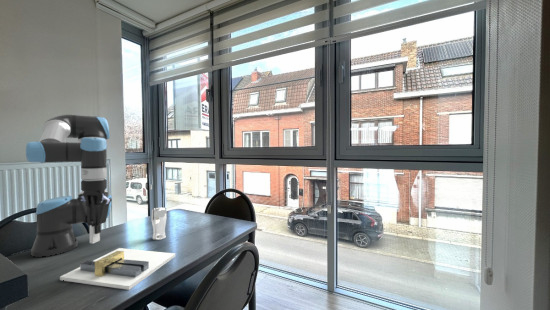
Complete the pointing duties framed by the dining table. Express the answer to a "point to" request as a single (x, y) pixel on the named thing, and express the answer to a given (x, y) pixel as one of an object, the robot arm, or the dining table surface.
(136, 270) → the fixed jaw
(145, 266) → the moving jaw
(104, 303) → the dining table surface
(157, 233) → the beer glass
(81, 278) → the board
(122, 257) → the collar
